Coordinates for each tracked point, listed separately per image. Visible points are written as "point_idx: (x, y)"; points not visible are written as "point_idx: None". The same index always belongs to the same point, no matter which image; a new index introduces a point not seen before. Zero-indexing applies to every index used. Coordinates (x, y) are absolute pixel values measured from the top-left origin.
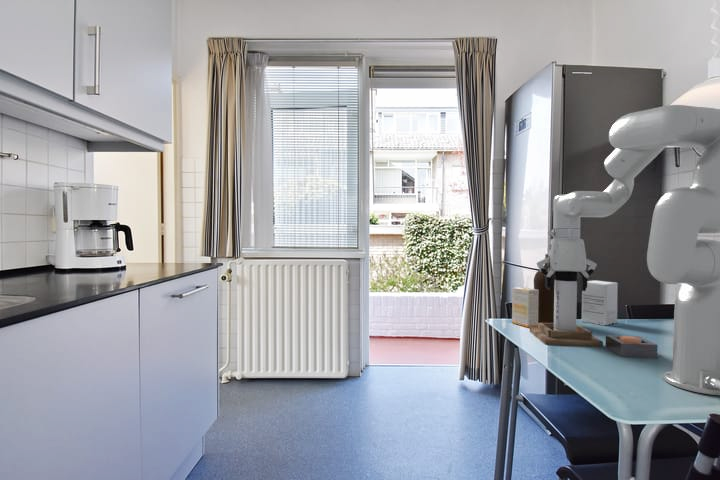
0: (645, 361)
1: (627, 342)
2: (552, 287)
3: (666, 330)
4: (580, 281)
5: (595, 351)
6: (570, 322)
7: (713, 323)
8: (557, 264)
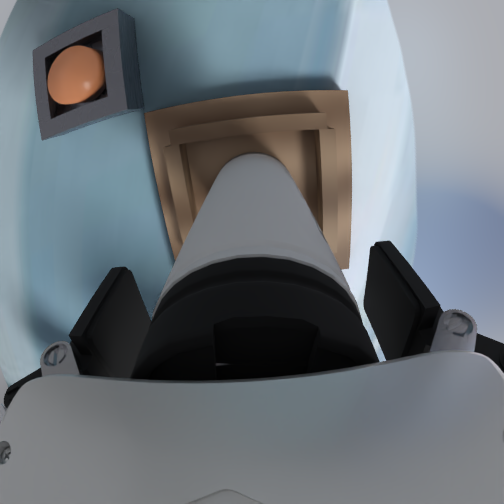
0: (92, 4)
1: (94, 30)
2: (380, 253)
3: (28, 337)
4: (128, 356)
5: (191, 43)
6: (240, 163)
7: None
8: (484, 433)
